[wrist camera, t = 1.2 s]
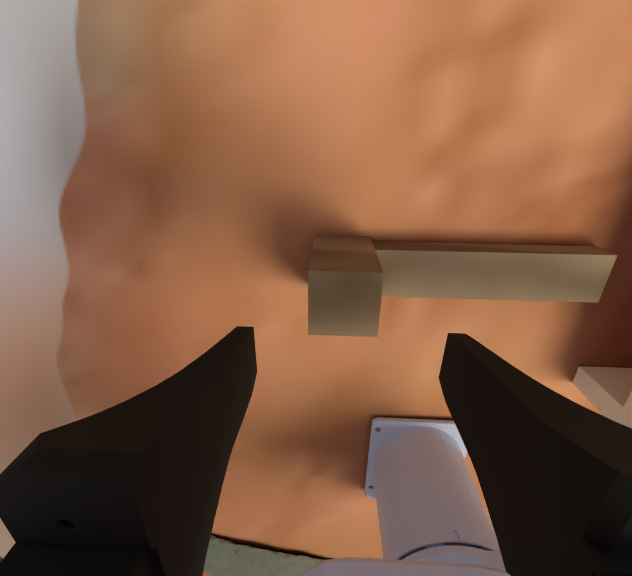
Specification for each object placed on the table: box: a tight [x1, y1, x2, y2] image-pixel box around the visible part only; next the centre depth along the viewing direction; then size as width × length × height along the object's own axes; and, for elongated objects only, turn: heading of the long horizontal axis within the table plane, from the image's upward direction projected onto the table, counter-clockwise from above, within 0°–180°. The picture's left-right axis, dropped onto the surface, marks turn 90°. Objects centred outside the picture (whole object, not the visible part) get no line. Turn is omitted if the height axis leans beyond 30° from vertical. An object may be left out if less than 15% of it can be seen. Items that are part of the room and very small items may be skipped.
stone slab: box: [203, 535, 325, 576], centre depth 37 cm, size 22×3×10 cm
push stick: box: [308, 236, 617, 337], centre depth 19 cm, size 4×17×6 cm, turn 90°
